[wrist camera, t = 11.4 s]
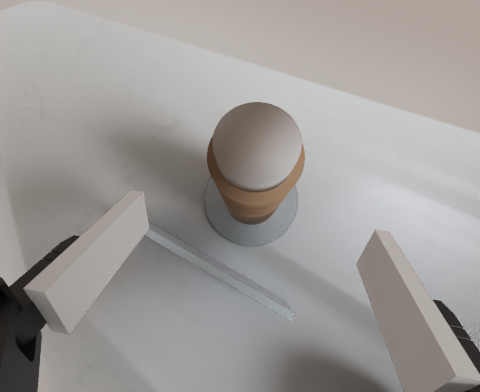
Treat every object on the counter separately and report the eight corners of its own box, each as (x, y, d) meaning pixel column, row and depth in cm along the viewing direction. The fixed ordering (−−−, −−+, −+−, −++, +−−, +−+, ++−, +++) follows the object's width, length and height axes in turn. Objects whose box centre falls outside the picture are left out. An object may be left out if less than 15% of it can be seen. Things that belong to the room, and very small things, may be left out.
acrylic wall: (285, 300, 20) (294, 313, 16) (282, 307, 20) (291, 321, 16) (145, 220, 22) (124, 214, 18) (142, 225, 22) (119, 220, 18)
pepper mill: (286, 188, 22) (331, 120, 10) (262, 234, 21) (282, 216, 9) (240, 165, 23) (234, 77, 11) (216, 209, 22) (180, 163, 10)
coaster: (312, 180, 22) (313, 179, 22) (271, 263, 21) (271, 264, 20) (232, 141, 24) (232, 140, 23) (188, 217, 22) (187, 217, 22)
